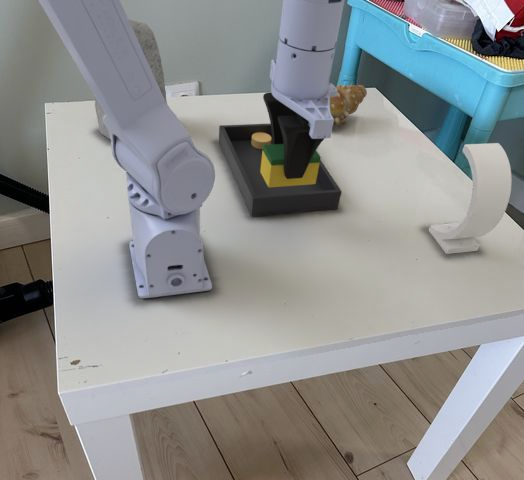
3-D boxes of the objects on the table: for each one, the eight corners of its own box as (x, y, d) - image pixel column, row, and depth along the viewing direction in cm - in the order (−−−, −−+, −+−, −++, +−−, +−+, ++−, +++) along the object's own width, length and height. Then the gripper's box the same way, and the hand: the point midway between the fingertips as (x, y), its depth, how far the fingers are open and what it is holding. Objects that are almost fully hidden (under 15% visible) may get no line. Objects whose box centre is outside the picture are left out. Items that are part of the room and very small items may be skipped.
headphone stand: (458, 227, 68) (498, 143, 59) (481, 256, 64) (528, 170, 55) (428, 230, 67) (464, 144, 58) (449, 259, 63) (492, 172, 54)
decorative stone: (155, 113, 81) (147, 4, 69) (176, 128, 78) (172, 18, 67) (93, 129, 75) (75, 15, 64) (114, 146, 73) (99, 30, 61)
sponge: (305, 168, 63) (310, 142, 60) (315, 184, 60) (321, 157, 58) (260, 171, 61) (263, 144, 58) (268, 187, 59) (271, 160, 56)
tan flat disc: (273, 149, 76) (273, 141, 75) (253, 149, 75) (254, 142, 74) (267, 139, 78) (268, 131, 77) (249, 140, 77) (249, 132, 76)
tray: (337, 209, 68) (341, 191, 66) (251, 216, 65) (253, 198, 63) (293, 139, 80) (296, 122, 77) (218, 142, 76) (219, 125, 74)
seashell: (313, 124, 90) (349, 72, 85) (341, 152, 87) (379, 100, 82) (283, 110, 83) (319, 52, 78) (311, 140, 80) (352, 82, 75)
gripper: (374, 70, 46) (341, 199, 56) (319, 15, 55) (299, 136, 65) (302, 71, 44) (282, 204, 54) (257, 14, 53) (247, 138, 63)
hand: (288, 167), depth 60 cm, fingers closed on sponge, 3 cm apart
